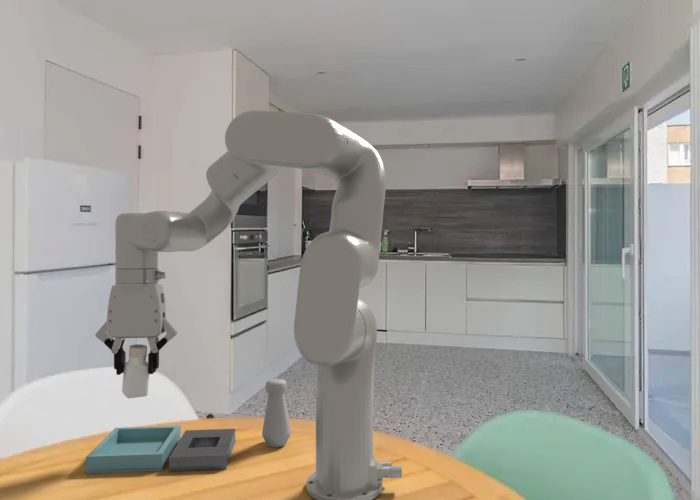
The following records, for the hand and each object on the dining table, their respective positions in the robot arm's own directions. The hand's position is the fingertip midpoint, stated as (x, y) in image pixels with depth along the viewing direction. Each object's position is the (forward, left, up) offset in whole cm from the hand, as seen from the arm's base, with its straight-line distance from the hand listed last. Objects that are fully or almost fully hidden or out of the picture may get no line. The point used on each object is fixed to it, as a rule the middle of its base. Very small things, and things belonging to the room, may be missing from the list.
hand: (136, 371), depth 101 cm
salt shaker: (-26, -3, -16) cm, 31 cm away
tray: (0, 0, -16) cm, 16 cm away
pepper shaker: (0, 0, -5) cm, 5 cm away
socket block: (-13, +1, -16) cm, 21 cm away
